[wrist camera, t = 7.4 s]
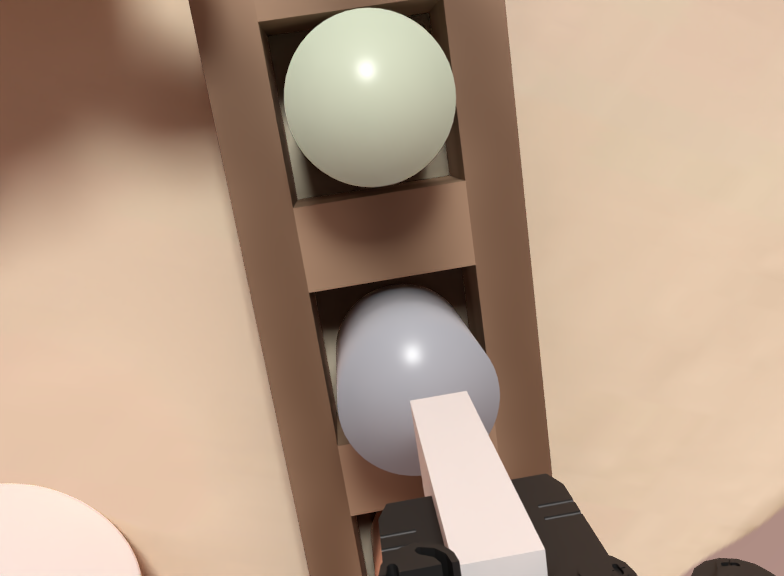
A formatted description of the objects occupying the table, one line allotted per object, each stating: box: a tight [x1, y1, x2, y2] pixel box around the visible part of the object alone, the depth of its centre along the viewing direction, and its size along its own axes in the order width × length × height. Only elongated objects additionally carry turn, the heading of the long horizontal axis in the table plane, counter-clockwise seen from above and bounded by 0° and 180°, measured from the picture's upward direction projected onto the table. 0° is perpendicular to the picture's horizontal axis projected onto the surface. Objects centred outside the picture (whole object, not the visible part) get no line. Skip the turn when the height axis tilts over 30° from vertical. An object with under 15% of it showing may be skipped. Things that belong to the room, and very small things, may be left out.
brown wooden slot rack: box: [189, 0, 552, 576], centre depth 25 cm, size 10×28×3 cm, turn 9°
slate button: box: [336, 284, 500, 476], centre depth 22 cm, size 5×5×5 cm
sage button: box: [284, 8, 456, 187], centre depth 21 cm, size 5×5×5 cm
